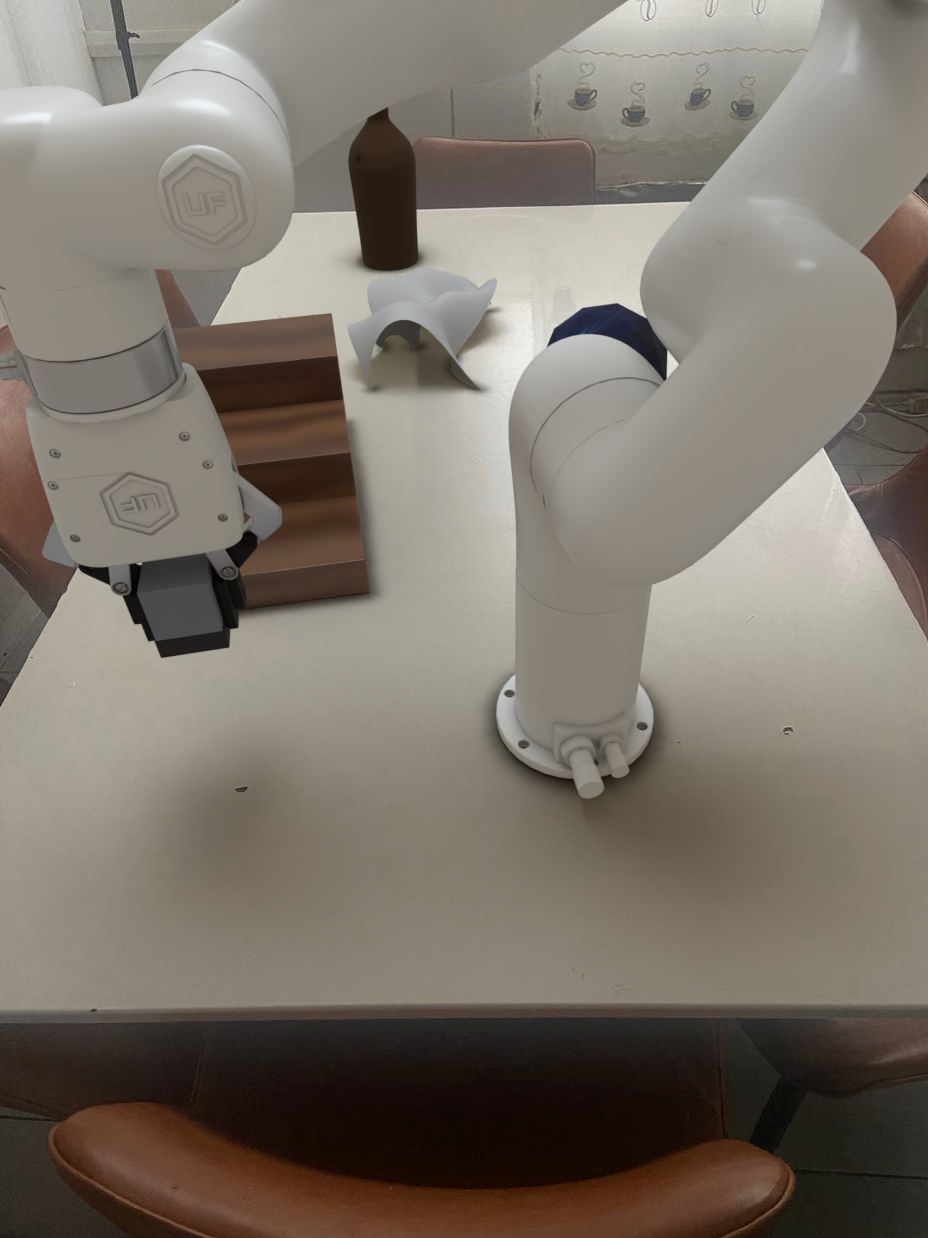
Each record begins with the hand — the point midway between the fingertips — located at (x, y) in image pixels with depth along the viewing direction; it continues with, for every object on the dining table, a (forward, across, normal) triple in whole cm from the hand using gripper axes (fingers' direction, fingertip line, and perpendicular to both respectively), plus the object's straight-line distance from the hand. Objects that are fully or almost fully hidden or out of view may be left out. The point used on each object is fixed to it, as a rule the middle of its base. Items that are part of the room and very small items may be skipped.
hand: (194, 618), depth 59 cm
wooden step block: (+16, +2, +36) cm, 40 cm away
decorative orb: (+17, +41, +45) cm, 64 cm away
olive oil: (+17, +22, +106) cm, 110 cm away
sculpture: (+17, +24, +72) cm, 77 cm away
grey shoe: (+1, 0, +2) cm, 2 cm away
